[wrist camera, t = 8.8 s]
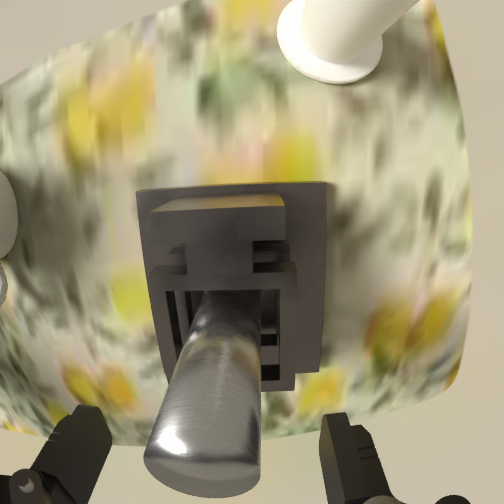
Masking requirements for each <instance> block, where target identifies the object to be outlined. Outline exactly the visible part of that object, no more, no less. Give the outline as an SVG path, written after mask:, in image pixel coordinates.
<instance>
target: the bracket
mask: <svg viewBox="0 0 504 504" xmlns="http://www.w3.org/2000/svg"><path fill="white" fill-rule="evenodd" d="M136 199H137V209H138V218H139V227H140V236H141V244H142V251H143V259H144V266H145V273H146V279H147V285H148V292H149V298H150V303H151V309H152V314H153V320H154V325H155V330H156V335H157V340H158V345H159V350H160V355H161V359H162V364H163V368H164V372H165V373H166V376H167V380H168V385H169V383H170V380H171V378H172V375H173V372H174V370H175V367H176V364H177V362H178V359H179V356H180V354H181V351H182V349H183V346H184V343H185V341H186V338H187V336H188V333H189V330H190V328H191V325H192V323H193V320H194V317H195V315H196V312H197V310H198V307H199V305H200V302H201V300H202V297H203V294H204V292H205V291H213V290H256V289H260V290H261V392H269V391H293V390H294V387H295V373H311V372H319V365H320V353H321V339H322V324H323V307H324V286H325V257H326V182H324V181H299V182H259V183H235V184H216V185H199V186H184V187H171V188H159V189H147V190H140V191H137V192H136Z"/></svg>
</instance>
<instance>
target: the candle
mask: <svg viewBox="0 0 504 504" xmlns="http://www.w3.org/2000/svg"><path fill="white" fill-rule="evenodd" d="M418 1H419V0H293V1H292V2H290V3H289V4H288V5H287V6H286V7H285V9H284V10H283V11H282V13H281V15H280V18H279V21H278V26H277V38H278V43H279V46H280V48H281V50H282V52H283V54H284V56H285V57H286V59H287V60H288V61H289V62H290V63H291V64H292V65H293V66H294V67H295V68H296V69H297V70H298V71H300V72H301V73H303V74H304V75H306V76H308V77H310V78H312V79H314V80H317V81H320V82H324V83H329V84H346V83H351V82H355V81H357V80H360V79H362V78H363V77H365V76H366V75H368V74H369V73H370V72H371V71H372V70H373V69H374V68H375V67H376V66H377V64H378V62H379V60H380V58H381V55H382V49H383V41H382V34H383V33H384V32H385V31H386V30H387V29H388V28H389V27H390V26H391V25H393V24H394V23H395V22H396V21H397V20H398V19H399V18H400V17H401V16H402V15H404V14H405V13H406V12H407V11H408V10H409V9H410V8H411V7H413V6H414V5H415V4H416V3H417V2H418Z"/></svg>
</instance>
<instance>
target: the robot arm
mask: <svg viewBox="0 0 504 504" xmlns="http://www.w3.org/2000/svg"><path fill="white" fill-rule="evenodd" d="M111 446H112V436H111V433H110V430H109V428H108V426H107V424H106V421H105V419H104V417H103V415H102V412H101V410H100V409H99V408H98V407H94V406H88V405H83V404H79V405H78V406H77V407H76V409H75V410H74V412H73V414H72V415H67V416H66V417H64V418H63V419H62V420H61V421H59V422H58V424H57V425H56V427H55V428H54V430H53V433H51V435H50V437H49V438H48V441H46V443H45V445H44V446H43V448H42V450H41V451H40V453H39V455H38V456H37V458H36V460H35V462H34V463H33V465H32V466H31V468H30V469H21V470H18V471H16V472H15V473H14V474H13V475H12V476H7V475H0V504H88V501H89V499H90V497H91V494H92V492H93V489H94V487H95V484H96V482H97V480H98V477H99V475H100V472H101V470H102V468H103V465H104V463H105V461H106V458H107V456H108V454H109V451H110V449H111ZM319 455H320V461H321V467H322V472H323V478H324V483H325V489H326V495H327V500H328V504H405V503H402V502H400V501H399V500H397V499H396V498H395V497H394V496H393V495H392V493H391V491H390V489H389V486H388V483H387V480H386V477H385V474H384V472H383V468H382V466H381V462H380V459H379V458H378V454H377V452H376V448H375V445H374V443H373V440H372V437H371V434H370V433H369V432H368V431H367V430H366V429H365V428H364V427H363V426H362V425H354V426H350V423H349V420H348V417H347V414H346V413H345V412H343V413H334V414H325V415H323V420H322V426H321V433H320V440H319ZM435 504H470V502H469V501H468V500H467V499H465V498H464V497H462V496H458V495H449V496H445V497H443V498H441V499H440V500H438V501H437V502H436V503H435Z"/></svg>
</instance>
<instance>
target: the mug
mask: <svg viewBox="0 0 504 504" xmlns="http://www.w3.org/2000/svg"><path fill="white" fill-rule="evenodd" d="M17 229H18V210H17V202H16V199H15V195H14V191H13V189H12V186H11V184H10V182H9V181H8V179H7V177H6V176H5V175H4V174H3V172H2V171H0V258H2V257H4V256H5V255H7V254H8V253H9V251H10V250H11V248H12V247H13V244H14V242H15V239H16V235H17ZM7 288H8V284H7V278H6V275H5V272H4V269H3V267H2V265H1V263H0V307H1V305H2V304H3V302H4V301H5V298H6V293H7Z"/></svg>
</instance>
